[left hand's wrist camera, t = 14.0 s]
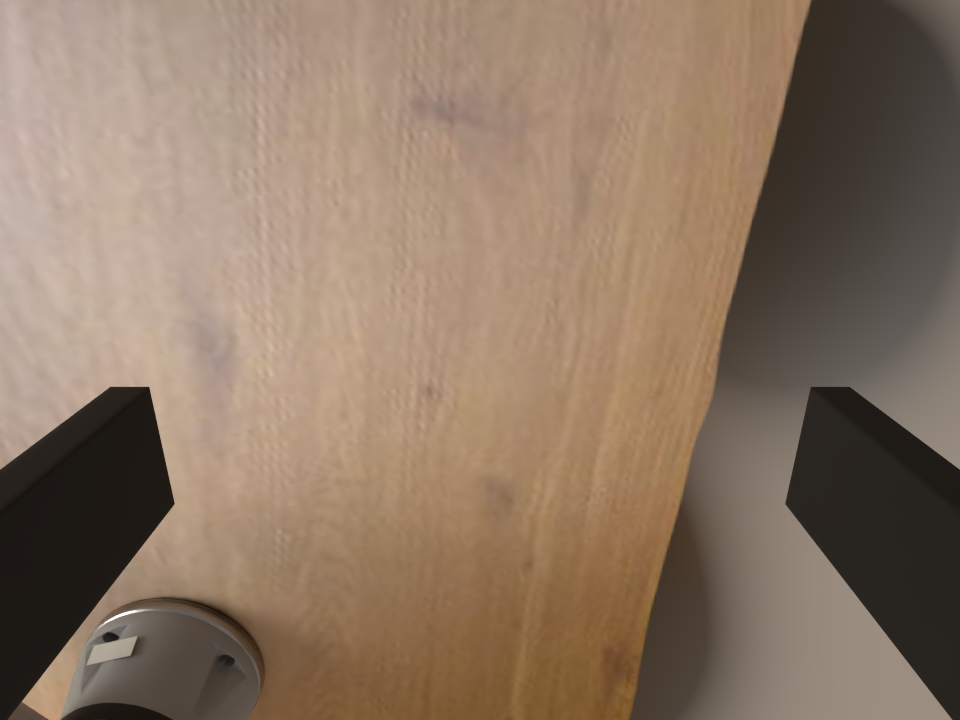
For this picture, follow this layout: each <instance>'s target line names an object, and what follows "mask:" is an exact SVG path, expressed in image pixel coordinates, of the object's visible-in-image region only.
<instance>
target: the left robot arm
mask: <svg viewBox="0 0 960 720" xmlns="http://www.w3.org/2000/svg"><path fill="white" fill-rule="evenodd" d="M174 504H175V503H174V499H173V494H172V490H171V485H170V480H169V476H168V471H167V467H166V462H165V458H164V453H163V448H162V444H161V439H160V435H159V430H158V425H157V421H156V416H155V412H154V407H153V403H152V398H151V393H150V389H149V387H110V388H108V389H107V390H106V391H104V392H103V393H102V394H101V395H99V396H98V397H97V398H95V399H94V400H93V401H91V402H90V403H89V404H87V405H86V406H85V407H83V408H82V409H81V410H79V411H78V412H77V413H75V414H74V415H73V416H71V417H70V418H69V419H67V420H66V421H65V422H63V423H62V424H61V425H59V426H58V427H57V428H55V429H54V430H53V431H51V432H50V433H49V434H47V435H46V436H45V437H43V438H42V439H41V440H39V441H38V442H37V443H35V444H34V445H33V446H31V447H30V448H29V449H27V450H26V451H25V452H23V453H22V454H21V455H19V456H18V457H17V458H15V459H14V460H13V461H11V462H10V463H9V464H7V465H6V466H5V467H3V468H2V469H1V470H0V720H48V719H47V718H45V717H44V716H42V715H41V714H39V713H38V712H36V711H34V710H33V709H31V708H30V707H28V706H27V705H25V704H24V703H22V700H23V699H24V698H25V697H26V695H27V694H28V693H29V691H30V690H31V689H32V687H33V686H34V685H35V684H36V682H37V681H38V680H39V678H40V677H41V676H42V675H43V673H44V672H45V671H46V669H47V668H48V667H49V666H50V664H51V663H52V662H53V660H54V659H55V658H56V656H57V655H58V654H59V653H60V651H61V650H62V649H63V647H64V646H65V645H66V644H67V642H68V641H69V640H70V638H71V637H72V636H73V635H74V633H75V632H76V631H77V629H78V628H79V627H80V625H81V624H82V623H83V622H84V620H85V619H86V618H87V616H88V615H89V614H90V613H91V611H92V610H93V609H94V607H95V606H96V605H97V604H98V602H99V601H100V600H101V598H102V597H103V596H104V594H105V593H106V592H107V591H108V589H109V588H110V587H111V585H112V584H113V583H114V582H115V580H116V579H117V578H118V576H119V575H120V574H121V573H122V571H123V570H124V569H125V567H126V566H127V565H128V563H129V562H130V561H131V560H132V558H133V557H134V556H135V554H136V553H137V552H138V551H139V549H140V548H141V547H142V545H143V544H144V543H145V542H146V540H147V539H148V538H149V536H150V535H151V534H152V532H153V531H154V530H155V529H156V527H157V526H158V525H159V523H160V522H161V521H162V520H163V518H164V517H165V516H166V514H167V513H168V512H169V511H170V509H171V508H172V507H173V505H174ZM786 505H787V507H788V508H789V509H790V511H791V512H792V513H793V514H794V516H795V517H796V518H797V520H798V521H799V522H800V523H801V525H802V526H803V527H804V529H805V530H806V531H807V532H808V534H809V535H810V536H811V538H812V539H813V540H814V541H815V543H816V544H817V545H818V547H819V548H820V549H821V551H822V552H823V553H824V554H825V556H826V557H827V558H828V560H829V561H830V562H831V563H832V565H833V566H834V567H835V569H836V570H837V571H838V572H839V574H840V575H841V576H842V578H843V579H844V580H845V582H846V583H847V584H848V585H849V587H850V588H851V589H852V591H853V592H854V593H855V594H856V596H857V597H858V598H859V600H860V601H861V602H862V603H863V605H864V606H865V607H866V609H867V610H868V611H869V613H870V614H871V615H872V616H873V618H874V619H875V620H876V622H877V623H878V624H879V625H880V627H881V628H882V629H883V631H884V632H885V633H886V634H887V636H888V637H889V638H890V640H891V641H892V642H893V644H894V645H895V646H896V647H897V649H898V650H899V651H900V653H901V654H902V655H903V656H904V658H905V659H906V660H907V662H908V663H909V664H910V666H911V667H912V668H913V669H914V671H915V672H916V673H917V674H918V676H919V677H920V678H921V680H922V681H923V682H924V684H925V685H926V686H927V687H928V689H929V690H930V691H931V693H932V694H933V695H934V697H935V698H936V699H937V700H938V702H939V703H940V704H941V706H942V707H943V708H944V709H945V711H946V712H947V713H948V715H949V716H950V717H951V718H952V720H960V470H959V469H958V468H957V467H955V466H954V465H953V464H951V463H950V462H949V461H947V460H946V459H945V458H943V457H942V456H941V455H939V454H938V453H937V452H935V451H934V450H933V449H931V448H930V447H929V446H927V445H926V444H925V443H923V442H922V441H921V440H919V439H918V438H917V437H915V436H914V435H913V434H911V433H910V432H909V431H907V430H906V429H905V428H903V427H902V426H901V425H899V424H898V423H897V422H895V421H894V420H893V419H891V418H890V417H889V416H887V415H886V414H885V413H883V412H882V411H881V410H879V409H878V408H877V407H875V406H874V405H873V404H871V403H870V402H869V401H867V400H866V399H865V398H863V397H862V396H861V395H859V394H858V393H857V392H855V391H854V390H853V389H851V388H850V387H811V389H810V394H809V398H808V403H807V407H806V412H805V416H804V421H803V426H802V430H801V435H800V439H799V444H798V449H797V453H796V458H795V462H794V467H793V471H792V476H791V480H790V485H789V490H788V494H787V499H786ZM263 683H264V664H263V661H262V657H261V655H260V652H259V650H258V648H257V647H256V645H255V643H254V642H253V641H252V639H251V638H250V637H249V636H248V634H247V633H246V632H245V631H244V630H243V629H242V628H241V627H240V626H238V625H237V624H236V623H235V622H233V621H232V620H230V619H229V618H227V617H226V616H224V615H222V614H221V613H219V612H217V611H215V610H213V609H210V608H208V607H205V606H203V605H199V604H196V603H193V602H188V601H184V600H178V599H164V598H158V599H147V600H140V601H136V602H133V603H130V604H127V605H124V606H122V607H120V608H118V609H116V610H114V611H113V612H111V613H110V614H109V615H107V616H106V617H105V618H104V619H103V620H102V621H101V622H100V624H99V625H98V626H97V628H96V629H95V630H94V632H93V633H92V634H91V636H90V637H89V639H88V640H87V642H86V644H85V646H84V648H83V650H82V652H81V654H80V656H79V660H78V663H77V666H76V669H75V673H74V676H73V679H72V682H71V686H70V689H69V692H68V696H67V699H66V702H65V705H64V709H63V712H62V715H61V718H60V720H247V719H248V717H249V716H250V714H251V712H252V711H253V709H254V707H255V705H256V703H257V700H258V698H259V695H260V692H261V690H262V687H263Z"/></svg>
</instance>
